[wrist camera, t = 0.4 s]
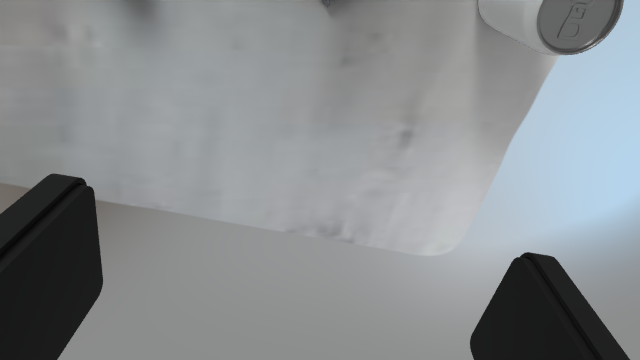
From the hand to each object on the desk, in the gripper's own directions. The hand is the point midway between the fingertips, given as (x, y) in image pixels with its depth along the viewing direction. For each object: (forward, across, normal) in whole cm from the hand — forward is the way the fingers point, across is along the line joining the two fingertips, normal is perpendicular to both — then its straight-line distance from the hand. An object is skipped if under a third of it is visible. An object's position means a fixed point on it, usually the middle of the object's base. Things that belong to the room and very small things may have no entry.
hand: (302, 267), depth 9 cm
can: (+35, -17, -6) cm, 40 cm away
